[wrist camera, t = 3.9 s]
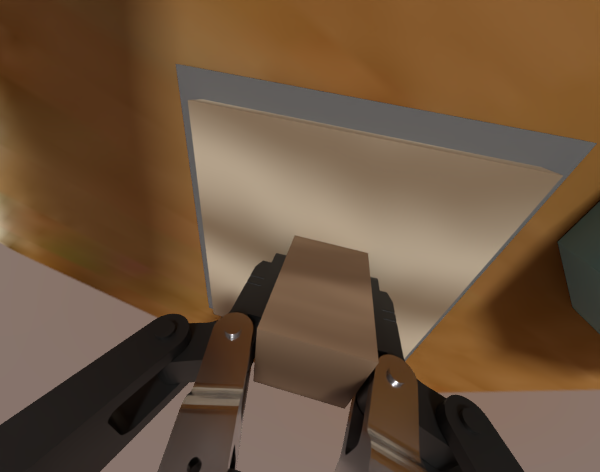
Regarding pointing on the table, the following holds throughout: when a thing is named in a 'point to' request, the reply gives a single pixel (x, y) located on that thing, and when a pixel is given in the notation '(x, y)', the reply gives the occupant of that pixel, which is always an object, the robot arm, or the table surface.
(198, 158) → the lid
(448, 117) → the mat
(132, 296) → the table surface
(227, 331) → the robot arm
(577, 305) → the bowl
